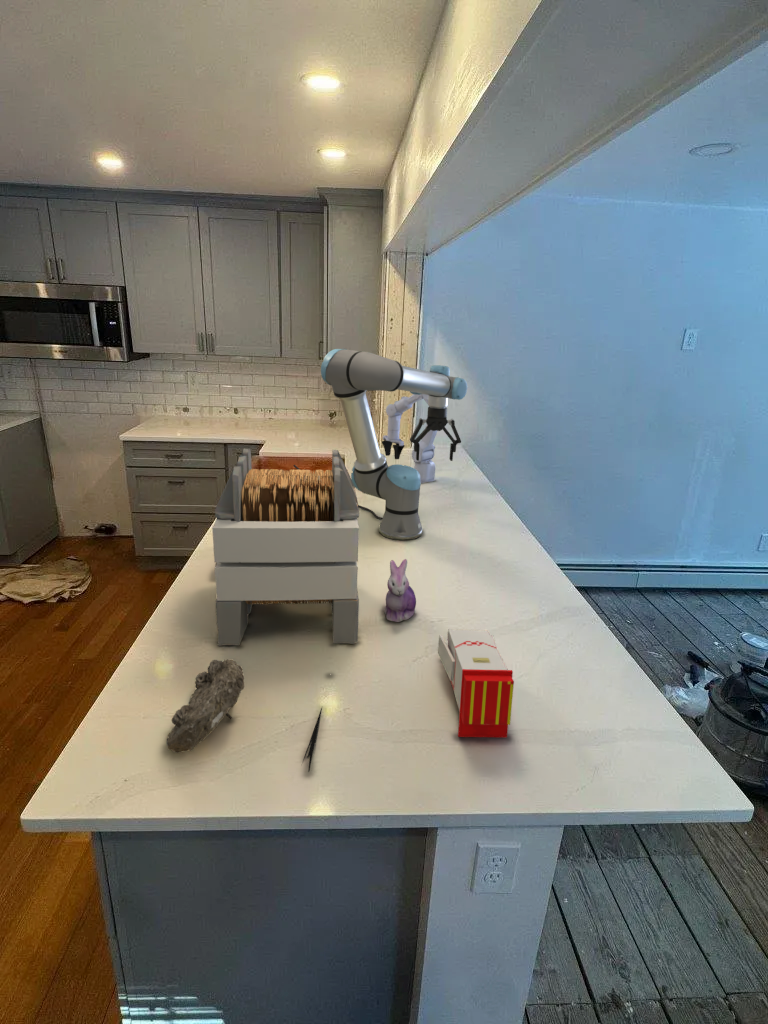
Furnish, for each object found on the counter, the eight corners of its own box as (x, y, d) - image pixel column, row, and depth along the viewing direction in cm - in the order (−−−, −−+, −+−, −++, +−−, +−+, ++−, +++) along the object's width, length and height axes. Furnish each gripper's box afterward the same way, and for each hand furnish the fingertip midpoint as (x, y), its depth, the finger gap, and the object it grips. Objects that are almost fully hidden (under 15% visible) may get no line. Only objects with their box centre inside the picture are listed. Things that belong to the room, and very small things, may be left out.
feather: (331, 679, 122) (336, 673, 122) (307, 777, 96) (313, 769, 95) (324, 675, 122) (329, 669, 121) (298, 772, 95) (304, 764, 95)
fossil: (192, 660, 117) (244, 628, 112) (224, 691, 120) (276, 661, 115) (142, 746, 98) (202, 712, 93) (182, 779, 101) (242, 748, 96)
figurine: (392, 627, 141) (395, 572, 136) (374, 608, 149) (376, 556, 144) (425, 619, 145) (429, 566, 140) (405, 601, 154) (408, 550, 149)
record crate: (235, 580, 161) (228, 439, 147) (350, 579, 165) (354, 441, 151) (215, 647, 129) (204, 476, 115) (358, 644, 133) (363, 478, 119)
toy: (488, 613, 130) (523, 677, 101) (484, 667, 133) (517, 744, 104) (435, 612, 130) (455, 676, 101) (432, 666, 133) (451, 743, 103)
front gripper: (467, 405, 224) (463, 457, 232) (404, 404, 222) (402, 456, 230) (471, 409, 217) (466, 462, 224) (406, 407, 215) (404, 461, 223)
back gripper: (378, 427, 272) (377, 454, 277) (395, 433, 261) (394, 461, 266) (390, 426, 276) (388, 453, 281) (408, 431, 265) (406, 460, 270)
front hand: (434, 459), depth 227 cm, fingers open, 13 cm apart
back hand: (392, 457), depth 274 cm, fingers open, 7 cm apart
